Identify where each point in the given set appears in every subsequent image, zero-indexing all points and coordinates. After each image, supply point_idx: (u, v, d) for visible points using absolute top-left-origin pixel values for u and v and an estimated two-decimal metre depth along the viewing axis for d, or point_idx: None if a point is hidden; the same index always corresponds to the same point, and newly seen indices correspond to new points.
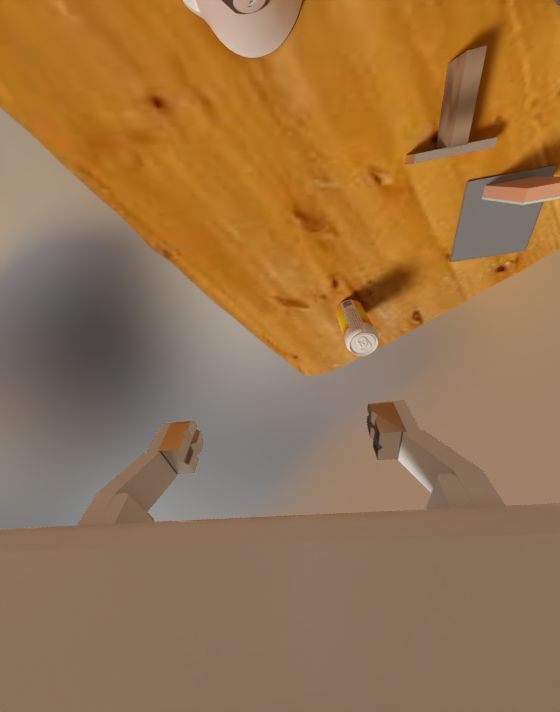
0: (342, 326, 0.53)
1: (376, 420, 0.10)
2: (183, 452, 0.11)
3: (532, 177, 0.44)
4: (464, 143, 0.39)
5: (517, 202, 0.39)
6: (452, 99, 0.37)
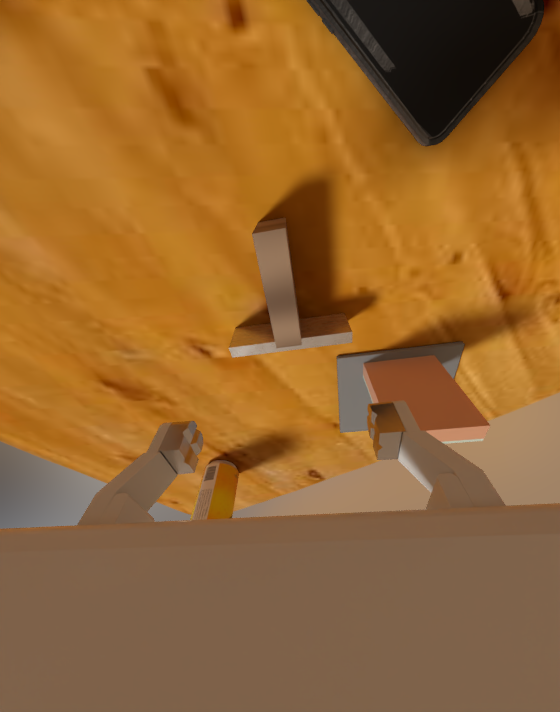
0: None
1: (376, 420, 0.10)
2: (183, 452, 0.11)
3: (429, 359, 0.29)
4: (296, 344, 0.24)
5: None
6: None
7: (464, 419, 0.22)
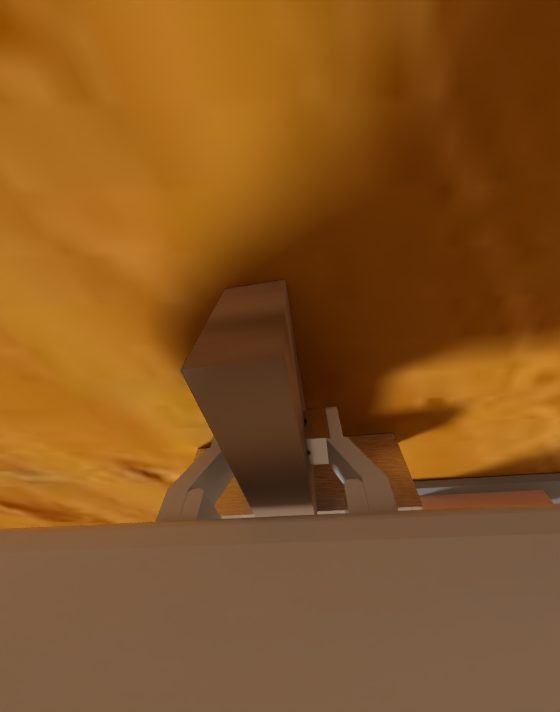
0: None
1: (305, 426, 0.10)
2: None
3: (537, 501, 0.17)
4: None
5: None
6: None
7: None
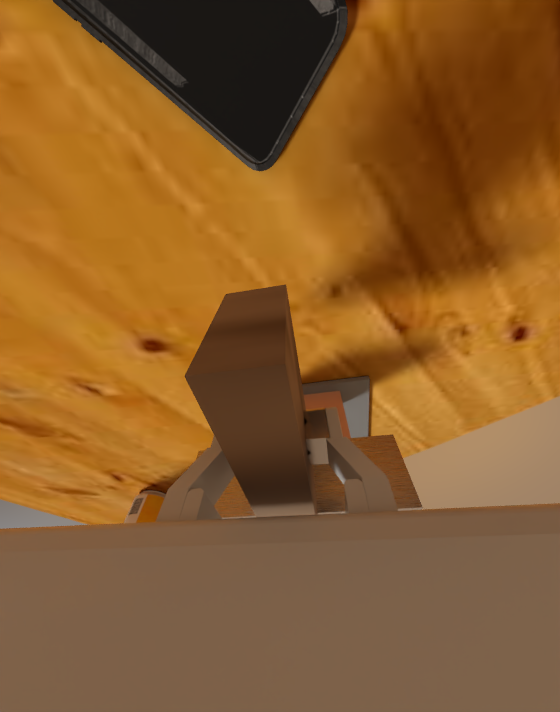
0: None
1: (305, 426, 0.10)
2: None
3: (332, 396, 0.26)
4: None
5: None
6: None
7: None
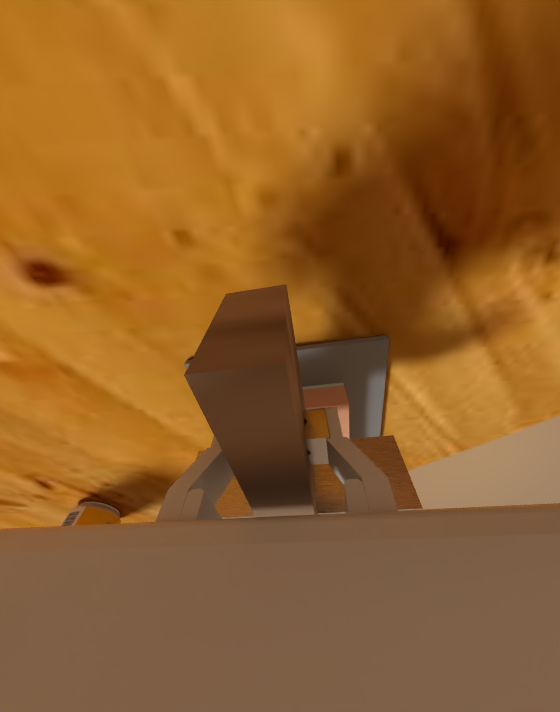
0: None
1: (305, 426, 0.10)
2: None
3: None
4: None
5: None
6: None
7: None
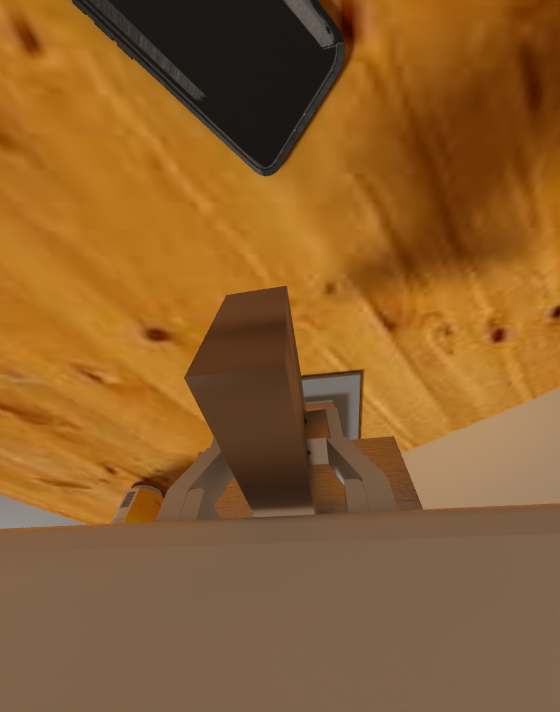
0: None
1: (305, 426, 0.10)
2: None
3: None
4: None
5: None
6: None
7: None
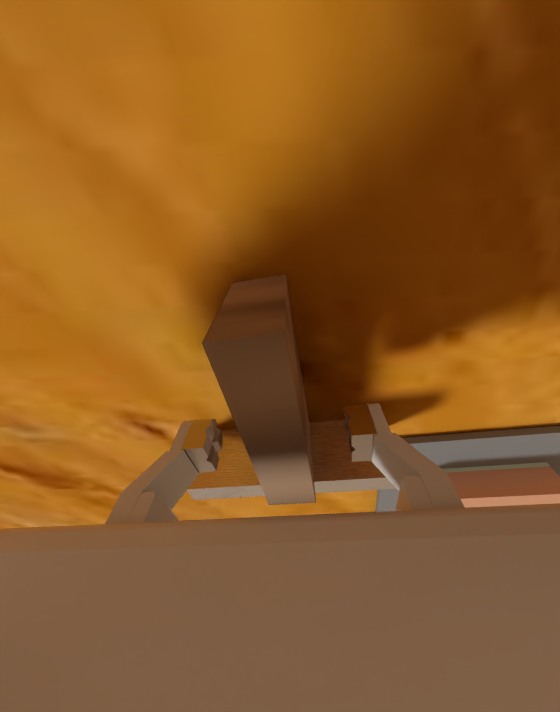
0: None
1: (349, 422, 0.10)
2: (206, 450, 0.11)
3: (554, 499, 0.16)
4: (306, 501, 0.13)
5: None
6: None
7: None
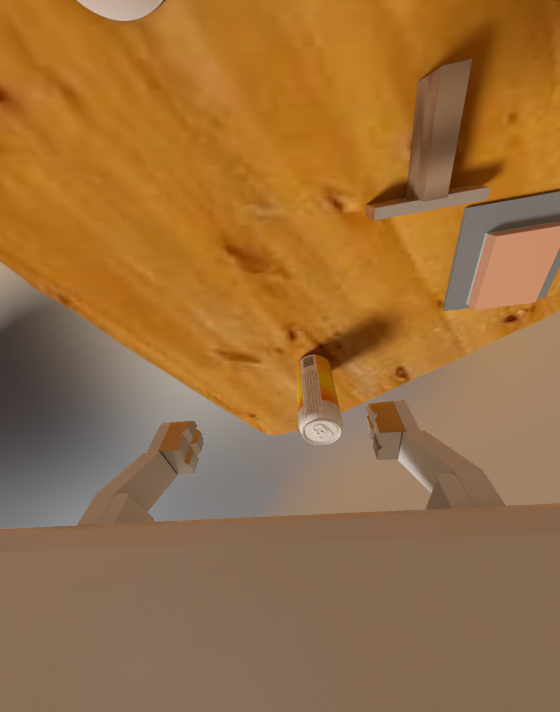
0: (298, 397, 0.39)
1: (376, 420, 0.10)
2: (183, 452, 0.11)
3: (559, 231, 0.31)
4: (442, 196, 0.27)
5: (469, 297, 0.38)
6: (424, 135, 0.25)
7: (525, 298, 0.36)
